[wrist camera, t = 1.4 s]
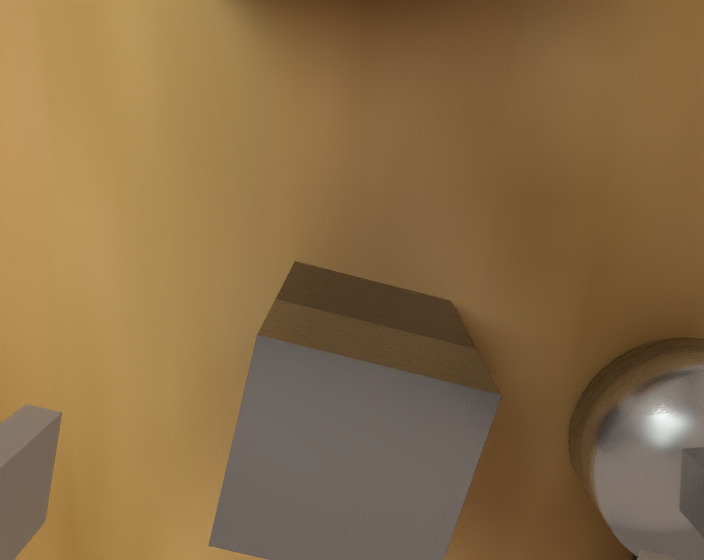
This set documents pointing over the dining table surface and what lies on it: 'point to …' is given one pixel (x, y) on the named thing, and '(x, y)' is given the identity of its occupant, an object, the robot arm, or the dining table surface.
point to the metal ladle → (646, 447)
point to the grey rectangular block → (354, 425)
